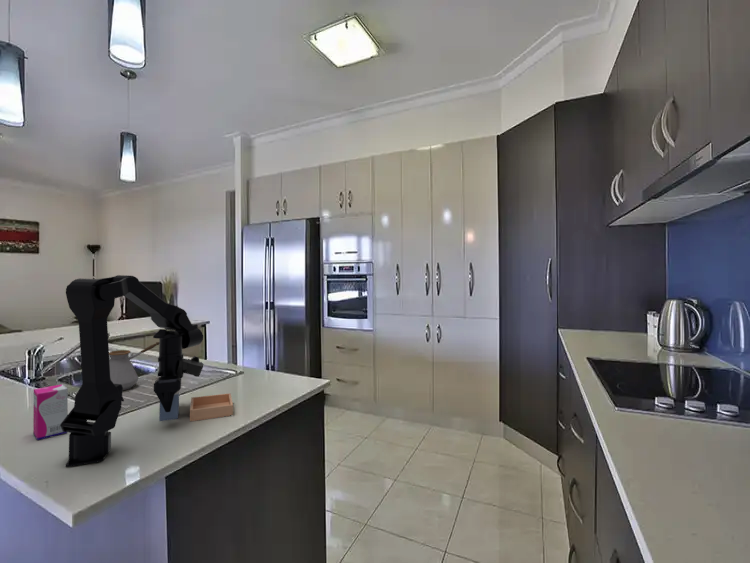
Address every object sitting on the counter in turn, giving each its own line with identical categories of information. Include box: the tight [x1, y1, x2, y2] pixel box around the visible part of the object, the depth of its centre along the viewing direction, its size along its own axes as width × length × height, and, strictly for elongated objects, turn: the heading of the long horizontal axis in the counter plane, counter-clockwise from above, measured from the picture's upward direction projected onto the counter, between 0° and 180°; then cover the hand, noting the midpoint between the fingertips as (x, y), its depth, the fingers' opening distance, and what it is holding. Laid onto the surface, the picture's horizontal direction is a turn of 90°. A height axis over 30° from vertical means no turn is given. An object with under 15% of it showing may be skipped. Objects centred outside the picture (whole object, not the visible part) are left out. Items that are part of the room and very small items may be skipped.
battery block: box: [158, 390, 180, 422], centre depth 101 cm, size 4×4×8 cm
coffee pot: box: [109, 341, 159, 391], centre depth 128 cm, size 21×12×15 cm, turn 149°
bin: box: [189, 393, 234, 422], centre depth 106 cm, size 11×11×3 cm
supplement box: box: [32, 383, 69, 441], centre depth 89 cm, size 6×6×12 cm
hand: (169, 406), depth 101 cm, fingers open, 9 cm apart
